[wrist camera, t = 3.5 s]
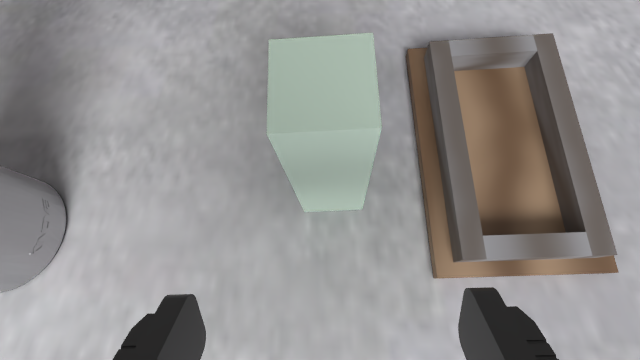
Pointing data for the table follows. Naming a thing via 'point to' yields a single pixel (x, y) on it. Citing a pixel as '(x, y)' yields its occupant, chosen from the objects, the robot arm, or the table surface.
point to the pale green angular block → (325, 117)
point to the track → (504, 161)
